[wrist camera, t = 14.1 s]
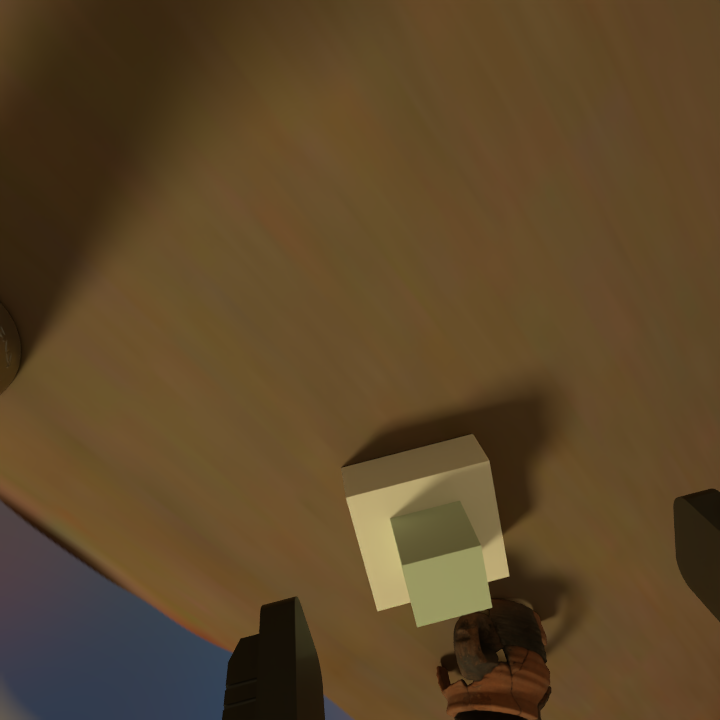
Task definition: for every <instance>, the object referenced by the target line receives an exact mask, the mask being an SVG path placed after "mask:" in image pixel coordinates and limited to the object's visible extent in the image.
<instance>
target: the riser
mask: <svg viewBox="0 0 720 720" xmlns="http://www.w3.org/2000/svg"><path fill="white" fill-rule="evenodd" d="M341 470H342V476H343V482H344V488H345V494H346V499H347V503H348V507H349V510H350V514H351V517H352V521H353V525H354V528H355V532H356V535H357V539H358V543H359V546H360V550H361V553H362V557H363V561H364V564H365V568H366V571H367V575H368V579H369V582H370V586H371V589H372V593H373V597H374V600H375V604H376V608H377V611H380V610H384V609H388V608H391V607H395V606H399V605H403V604H406V603H410V602H411V601H410V598H409V594H408V590H407V586H406V583H405V579H404V575H403V571H402V567H401V563H400V558H399V554H398V550H397V546H396V542H395V538H394V534H393V530H392V526H391V521H390V518H394V517H398V516H402V515H406V514H409V513H413V512H417V511H421V510H425V509H429V508H433V507H437V506H441V505H445V504H449V503H453V502H456V501H460V502H461V504H462V506H463V508H464V510H465V512H466V514H467V517H468V519H469V521H470V523H471V525H472V527H473V529H474V531H475V534H476V536H477V538H478V540H479V542H480V544H481V548H482V553H483V559H484V564H485V570H486V575H487V581H488V582H490V581H494V580H497V579H501V578H505V577H509V571H508V565H507V559H506V553H505V548H504V542H503V536H502V530H501V525H500V519H499V513H498V507H497V502H496V496H495V490H494V484H493V479H492V473H491V467H490V461H489V459H488V458H487V456H486V454H485V453H484V451H483V449H482V448H481V446H480V444H479V443H478V441H477V440H476V438H475V436H474V435H473V434H470V435H466V436H463V437H459V438H455V439H451V440H447V441H443V442H439V443H435V444H432V445H428V446H424V447H420V448H416V449H412V450H408V451H404V452H401V453H397V454H393V455H389V456H385V457H381V458H377V459H373V460H370V461H366V462H362V463H358V464H354V465H350V466H346V467H342V468H341Z"/></svg>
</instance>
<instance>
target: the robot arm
mask: <svg viewBox="0 0 720 720" xmlns="http://www.w3.org/2000/svg"><path fill="white" fill-rule="evenodd" d="M20 358H21V345H20V338H19V335H18V331H17V328H16V325H15V323H14V321H13V320H12V318H11V316H10V315H9V313H8V311H7V310H6V309H5V307H4V306H3V305H2V304H1V303H0V395H1V394H2V393H3V392H4V391H5V390H6V389H7V387H8V386H9V385H10V384H11V382H12V381H13V380H14V378H15V375H16V373H17V371H18V368H19V365H20ZM673 508H674V528H675V547H676V559H677V564H678V567H679V570H680V572H681V574H682V576H683V578H684V580H685V582H686V583H687V585H688V586H689V588H690V589H691V590H692V591H693V592H694V593H695V594H696V596H697V597H698V598H699V599H700V600H701V601H702V602H703V604H704V605H705V606H706V607H707V608H708V609H709V610H710V612H711V613H712V614H713V615H714V616H715V617H716V618H717V619H718V621H719V622H720V492H719V491H718V490H716V489H708V490H704V491H700V492H696V493H693V494H689V495H685V496H681V497H678V498H676V499H675V501H674V507H673ZM224 698H225V699H224V710H223V717H222V720H325V713H324V698H323V684H322V676H321V669H320V664H319V660H318V656H317V652H316V649H315V646H314V643H313V640H312V637H311V634H310V631H309V628H308V625H307V622H306V619H305V616H304V613H303V610H302V607H301V604H300V601H299V599H298V597H292V598H288V599H285V600H281V601H277V602H273V603H269V604H266V605H262V606H261V611H260V629H259V634H257V635H253V636H249V637H245V638H241V639H240V641H239V643H238V645H237V647H236V648H235V650H234V652H233V654H232V656H231V658H230V660H229V662H228V670H227V680H226V691H225V697H224Z"/></svg>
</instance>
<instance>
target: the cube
mask: <svg viewBox="0 0 720 720" xmlns="http://www.w3.org/2000/svg"><path fill="white" fill-rule="evenodd" d="M390 521H391V526H392V530H393V534H394V538H395V542H396V546H397V550H398V554H399V558H400V563H401V567H402V571H403V575H404V579H405V583H406V586H407V590H408V594H409V598H410V601H411V605H412V609H413V613H414V617H415V620H416V624H417V627H420V626H424V625H428V624H431V623H435V622H439V621H443V620H447V619H451V618H454V617H458V616H462V615H466V614H470V613H474V612H477V611H481V610H485V609H489V608H492V603H491V597H490V592H489V586H488V581H487V575H486V570H485V564H484V559H483V553H482V548H481V544H480V542H479V540H478V538H477V536H476V534H475V531H474V529H473V527H472V525H471V523H470V521H469V519H468V517H467V514H466V512H465V510H464V508H463V506H462V504H461V502H460V501H456V502H453V503H449V504H445V505H441V506H437V507H433V508H429V509H425V510H421V511H417V512H413V513H409V514H406V515H402V516H398V517H394V518H390Z"/></svg>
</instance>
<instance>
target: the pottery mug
mask: <svg viewBox="0 0 720 720" xmlns="http://www.w3.org/2000/svg"><path fill="white" fill-rule="evenodd" d="M491 603H492V608H490V610H489V616H490V617H488V616H487V615H486V614H484V613H482V612H480V611H477V612H474V613H470V614H466V615H462V616H461V617H460V618H459V620H458V621H457V623H456V625H455V628H454V650H455V654H456V657H457V664H458V666H459V669H460V671H461V674H462V676H463V677H464V678H466V679H468V680H473V683H471V684H469V685H467V684H466V683H465V681H464V680H463V679H461V680H459V681H457V682H456V683H453V684H450V680H449V676H448V671H447V669H446V668H444V667H441V666H438V667H437V678H438V684H439V686H440V688H441V691H442V694H443V695H444V696H445V698H446V699H447V701H448V707H447V714H448V715H450V716H453V717H454V718H455V720H541V716H540V710H541V709H542V708H543V707H544V706H545V704H546V702H547V701H548V699H549V696H550V694H551V687H550V686H549V685H550V671H549V669H548V668H547V666H546V664H545V663H546V662H547V660H546V652H545V650H544V646H545V645H546V644H547V639H546V634H545V632H544V630H543V627H542V625H541V620H540V617H539V615H538V614H537V613H536V612H535V611H533V610H532V609H530V608H528V607H526V606H525V605H523V604H520V603H517V602H514V601H510V600H502V599H491ZM500 649H503V651H504V653H505V657H506V659H507V662H498V656H497V654H496V652H497V651H499V650H500ZM548 686H549V687H548Z"/></svg>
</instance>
